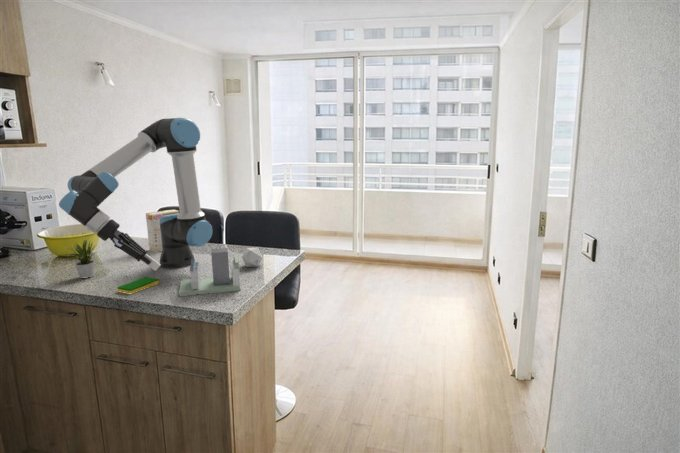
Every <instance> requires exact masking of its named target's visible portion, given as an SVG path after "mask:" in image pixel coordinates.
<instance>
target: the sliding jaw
mask: <svg viewBox="0 0 680 453" xmlns="http://www.w3.org/2000/svg"><path fill="white" fill-rule="evenodd" d="M189 273H190V275H189V276H190V280H191V288H192V290H193V289H199V282H200V279H201V278H200V277H201V276H200V263H199V261H196V259H195V258H194V259H192V260H191V265H189Z"/></svg>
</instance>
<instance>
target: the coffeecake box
mask: <svg viewBox="0 0 680 453" xmlns="http://www.w3.org/2000/svg"><path fill="white" fill-rule="evenodd" d="M177 213H180V210H177V209H166V210H158V211H152V212H146V213H145V221H146V230H147V237H148V247H149V251H151V252H153V253H157V252H162V240H161V230H160V218H161V217H162V216H165V215H170V214H177Z"/></svg>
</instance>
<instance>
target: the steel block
mask: <svg viewBox="0 0 680 453" xmlns="http://www.w3.org/2000/svg"><path fill="white" fill-rule="evenodd" d="M210 251H211V254H210V256H211V268H212V278H213V283H214V286H220V285H230V278H229V276H230V268H229V267H230V266H229V252H228V247H224V248H223V247H222V248H211V250H210Z"/></svg>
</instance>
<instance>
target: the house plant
mask: <svg viewBox="0 0 680 453" xmlns="http://www.w3.org/2000/svg"><path fill="white" fill-rule="evenodd" d="M66 243H68V244H70V245H72V246H73V248H74V250H75V251H74V250H73V248H71V247H69V246H68V247H66V249H68V250H71V251H70V252H69V253H65V255H67V256H66V257H67V258H68V261H70V262H72V261H74V260H77V262H76V263H75V268H76V271H77V273H78V277H79V278H80V277H81V278H83V277H91V276H93V275H94V276H95V263H96V262H95V260H92V259H94V256H93V255H94V254H96V253H97V251H96V252H94V253H92V251H93V249H94V248H95V247H96V246H97V245H98V244H95V245H94V246H93V241H92V242H91V241H89V242H88V238H86V239H83V242H82V246H80V244H78V242H75V244H74V243H72V242H66ZM87 245H88V246H87ZM72 251H73V252H72ZM91 253H92V254H91ZM72 256H73V257H72ZM92 256H93V257H92ZM70 257H71V258H70ZM94 276H93V277H94ZM91 278H92V277H91Z"/></svg>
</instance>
